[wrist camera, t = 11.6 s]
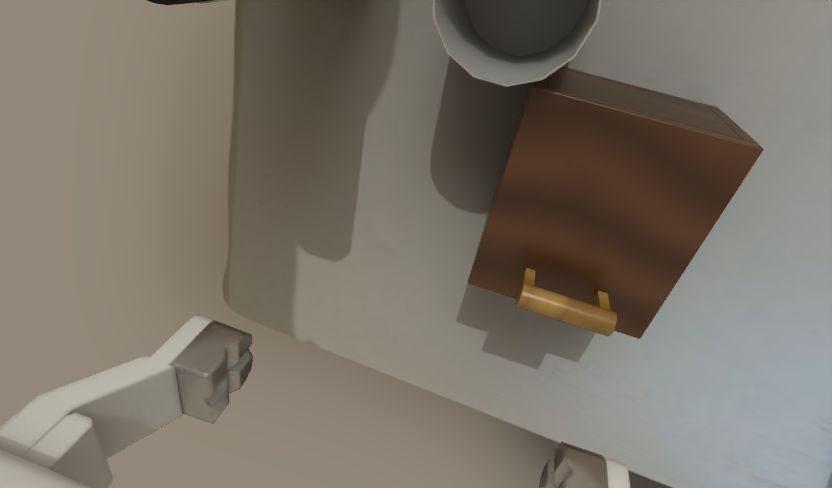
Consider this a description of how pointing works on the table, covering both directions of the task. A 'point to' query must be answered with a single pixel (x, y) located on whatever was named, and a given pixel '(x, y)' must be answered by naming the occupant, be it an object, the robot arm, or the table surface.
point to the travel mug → (182, 1)
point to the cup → (514, 35)
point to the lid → (603, 210)
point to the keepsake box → (635, 105)
